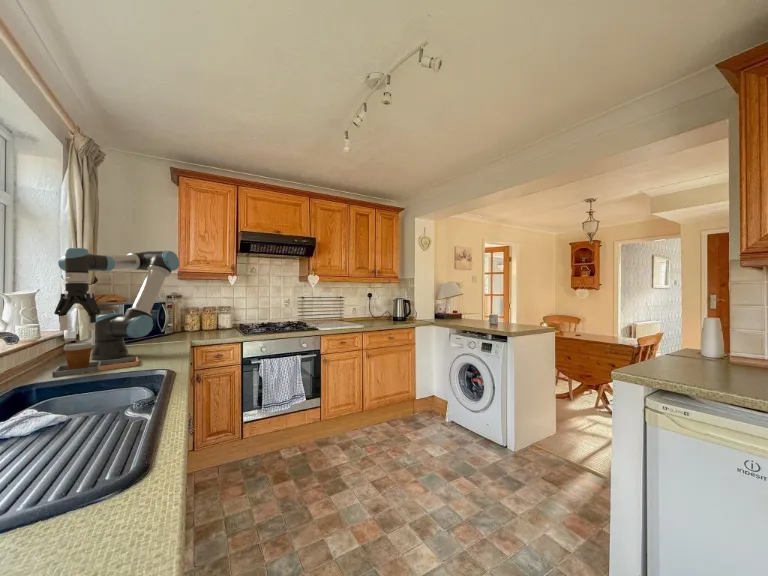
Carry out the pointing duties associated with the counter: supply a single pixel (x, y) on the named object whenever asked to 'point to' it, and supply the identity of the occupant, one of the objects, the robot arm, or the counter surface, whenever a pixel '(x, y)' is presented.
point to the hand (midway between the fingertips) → (77, 330)
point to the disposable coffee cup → (78, 355)
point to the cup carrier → (98, 364)
